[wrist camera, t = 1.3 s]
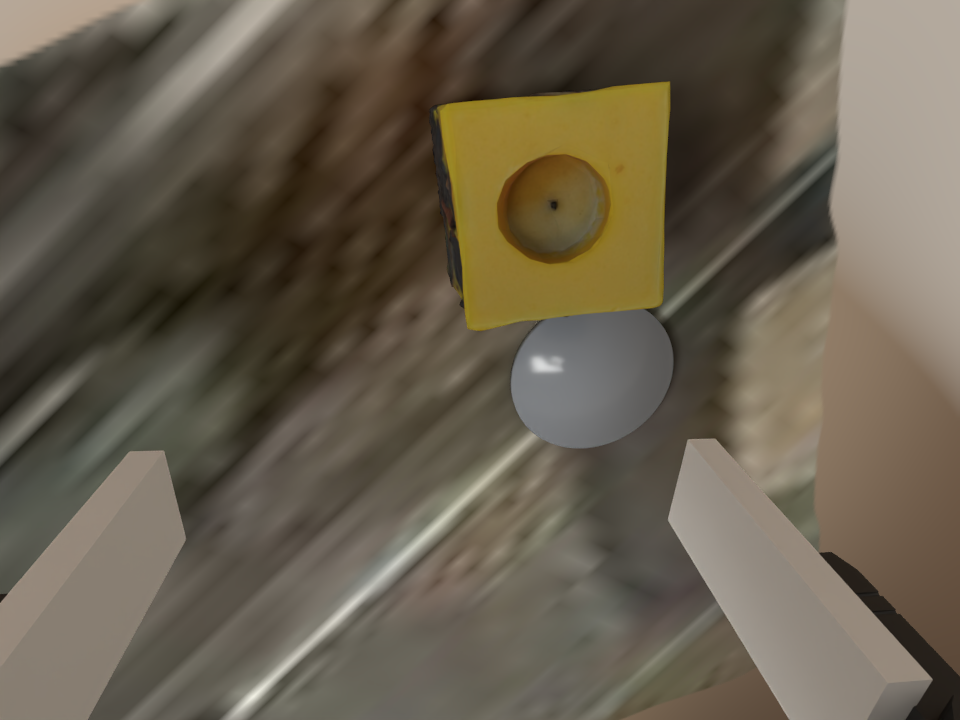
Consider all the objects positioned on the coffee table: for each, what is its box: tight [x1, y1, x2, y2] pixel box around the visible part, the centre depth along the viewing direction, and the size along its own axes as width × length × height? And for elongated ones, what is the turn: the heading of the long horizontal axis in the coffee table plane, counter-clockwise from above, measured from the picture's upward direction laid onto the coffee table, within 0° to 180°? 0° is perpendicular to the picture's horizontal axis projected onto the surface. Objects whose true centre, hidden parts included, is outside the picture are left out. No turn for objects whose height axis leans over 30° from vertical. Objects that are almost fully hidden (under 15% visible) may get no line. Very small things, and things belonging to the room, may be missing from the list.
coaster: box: [510, 309, 673, 448], centre depth 38 cm, size 12×12×1 cm
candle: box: [429, 82, 670, 331], centre depth 28 cm, size 10×10×10 cm
